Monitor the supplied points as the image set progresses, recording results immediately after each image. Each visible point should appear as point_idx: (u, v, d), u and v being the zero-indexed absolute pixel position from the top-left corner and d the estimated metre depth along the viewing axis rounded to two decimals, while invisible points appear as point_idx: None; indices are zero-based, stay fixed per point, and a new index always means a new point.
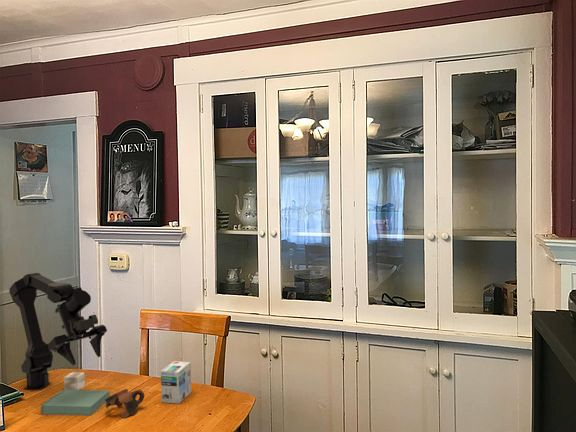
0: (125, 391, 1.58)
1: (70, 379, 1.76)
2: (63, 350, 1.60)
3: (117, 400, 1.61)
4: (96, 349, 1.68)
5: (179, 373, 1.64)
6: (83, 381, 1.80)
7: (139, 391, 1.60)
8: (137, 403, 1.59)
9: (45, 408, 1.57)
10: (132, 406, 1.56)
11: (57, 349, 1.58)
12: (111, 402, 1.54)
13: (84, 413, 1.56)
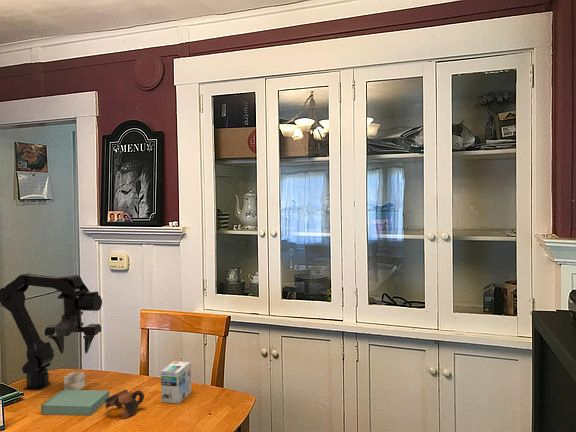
0: (125, 392, 1.57)
1: (70, 379, 1.76)
2: None
3: (117, 401, 1.61)
4: None
5: (179, 373, 1.64)
6: (83, 381, 1.80)
7: (139, 391, 1.60)
8: (137, 404, 1.58)
9: (45, 408, 1.57)
10: (132, 406, 1.56)
11: None
12: (111, 403, 1.54)
13: (84, 413, 1.56)
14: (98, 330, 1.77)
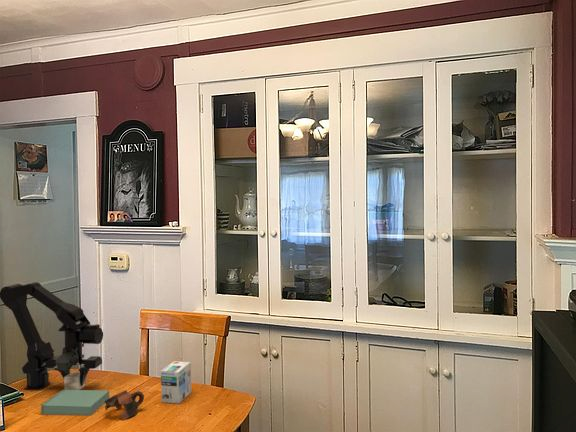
0: (125, 393, 1.57)
1: (70, 378, 1.76)
2: None
3: (116, 402, 1.60)
4: None
5: (179, 373, 1.64)
6: None
7: (139, 392, 1.59)
8: (137, 405, 1.57)
9: (45, 408, 1.57)
10: (132, 407, 1.55)
11: None
12: (111, 404, 1.53)
13: (84, 413, 1.56)
14: (99, 363, 1.78)
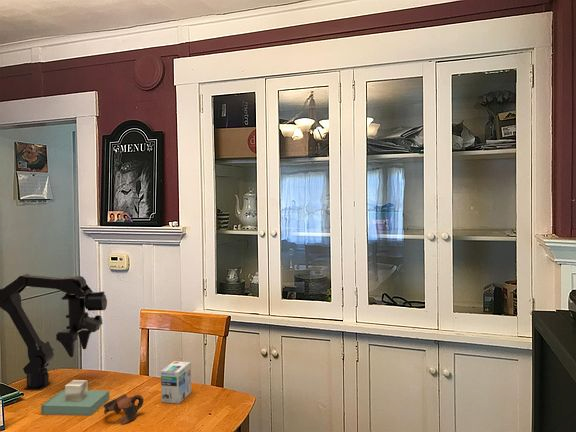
0: (124, 396, 1.54)
1: (83, 385, 1.62)
2: (66, 341, 1.75)
3: (115, 406, 1.57)
4: (84, 341, 1.86)
5: (179, 373, 1.64)
6: None
7: (138, 396, 1.56)
8: (136, 408, 1.54)
9: (45, 408, 1.57)
10: (132, 411, 1.52)
11: (65, 341, 1.73)
12: (110, 408, 1.50)
13: (84, 413, 1.56)
14: None
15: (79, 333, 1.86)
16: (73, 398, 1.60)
